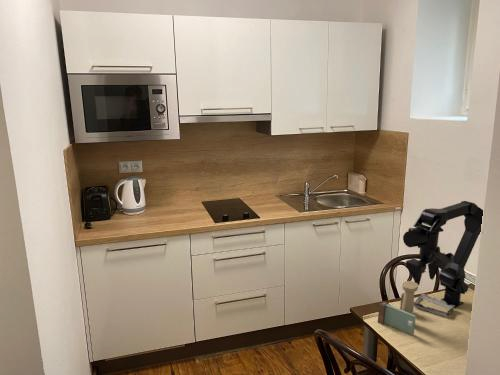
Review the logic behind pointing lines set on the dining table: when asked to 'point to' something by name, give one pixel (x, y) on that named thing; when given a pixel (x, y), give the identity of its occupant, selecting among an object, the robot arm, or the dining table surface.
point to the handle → (409, 296)
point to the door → (399, 319)
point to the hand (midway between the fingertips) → (424, 282)
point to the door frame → (382, 311)
